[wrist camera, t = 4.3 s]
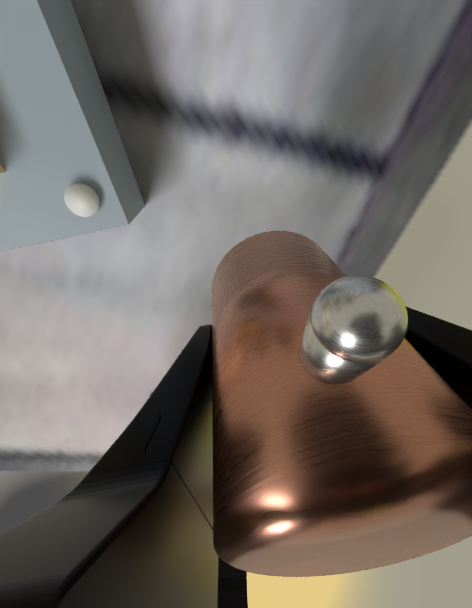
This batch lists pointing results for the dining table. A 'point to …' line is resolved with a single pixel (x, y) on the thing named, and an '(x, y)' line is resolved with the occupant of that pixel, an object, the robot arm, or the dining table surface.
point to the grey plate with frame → (56, 132)
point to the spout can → (327, 420)
